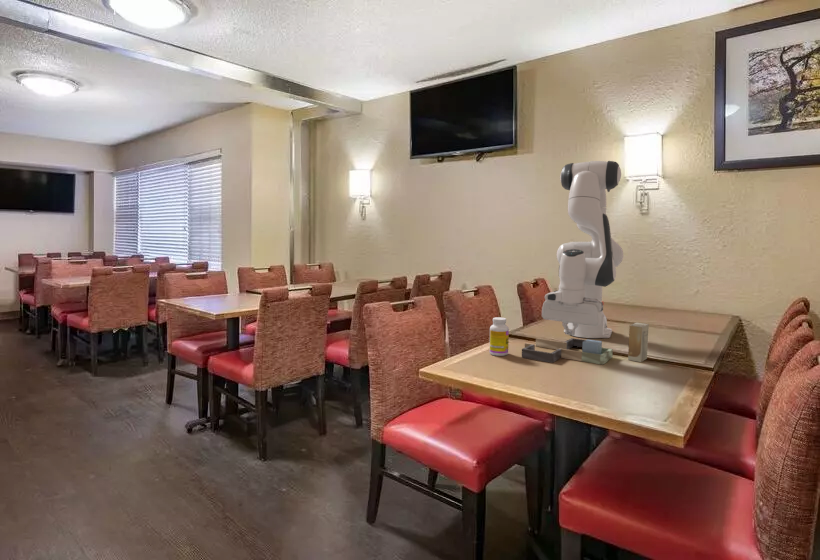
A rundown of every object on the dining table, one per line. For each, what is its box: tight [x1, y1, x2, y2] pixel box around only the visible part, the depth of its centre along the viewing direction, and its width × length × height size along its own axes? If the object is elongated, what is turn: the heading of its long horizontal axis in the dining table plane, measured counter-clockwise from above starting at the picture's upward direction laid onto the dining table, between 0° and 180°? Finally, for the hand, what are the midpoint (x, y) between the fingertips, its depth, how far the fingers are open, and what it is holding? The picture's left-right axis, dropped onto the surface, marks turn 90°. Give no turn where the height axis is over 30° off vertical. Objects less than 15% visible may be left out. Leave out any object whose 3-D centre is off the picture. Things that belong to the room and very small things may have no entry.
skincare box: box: [627, 322, 650, 363], centre depth 163 cm, size 6×4×12 cm
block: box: [581, 338, 603, 355], centre depth 165 cm, size 5×5×6 cm
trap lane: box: [521, 337, 614, 366], centre depth 170 cm, size 27×28×3 cm
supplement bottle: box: [488, 316, 510, 357], centre depth 171 cm, size 7×7×13 cm
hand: (570, 334), depth 170 cm, fingers closed
